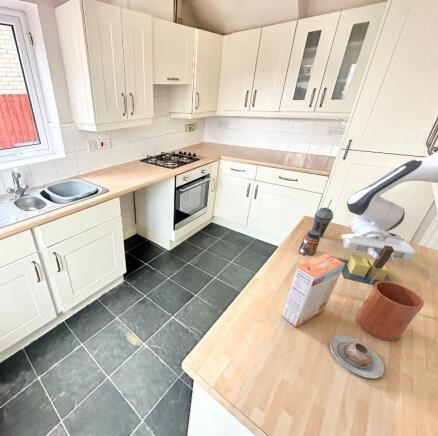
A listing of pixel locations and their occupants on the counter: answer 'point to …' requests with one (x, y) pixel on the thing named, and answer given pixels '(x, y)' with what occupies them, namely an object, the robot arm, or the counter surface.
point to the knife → (380, 262)
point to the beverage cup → (322, 219)
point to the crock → (388, 310)
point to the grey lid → (357, 357)
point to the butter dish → (357, 278)
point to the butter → (364, 267)
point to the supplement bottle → (310, 243)
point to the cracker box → (311, 289)
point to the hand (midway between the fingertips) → (384, 258)
